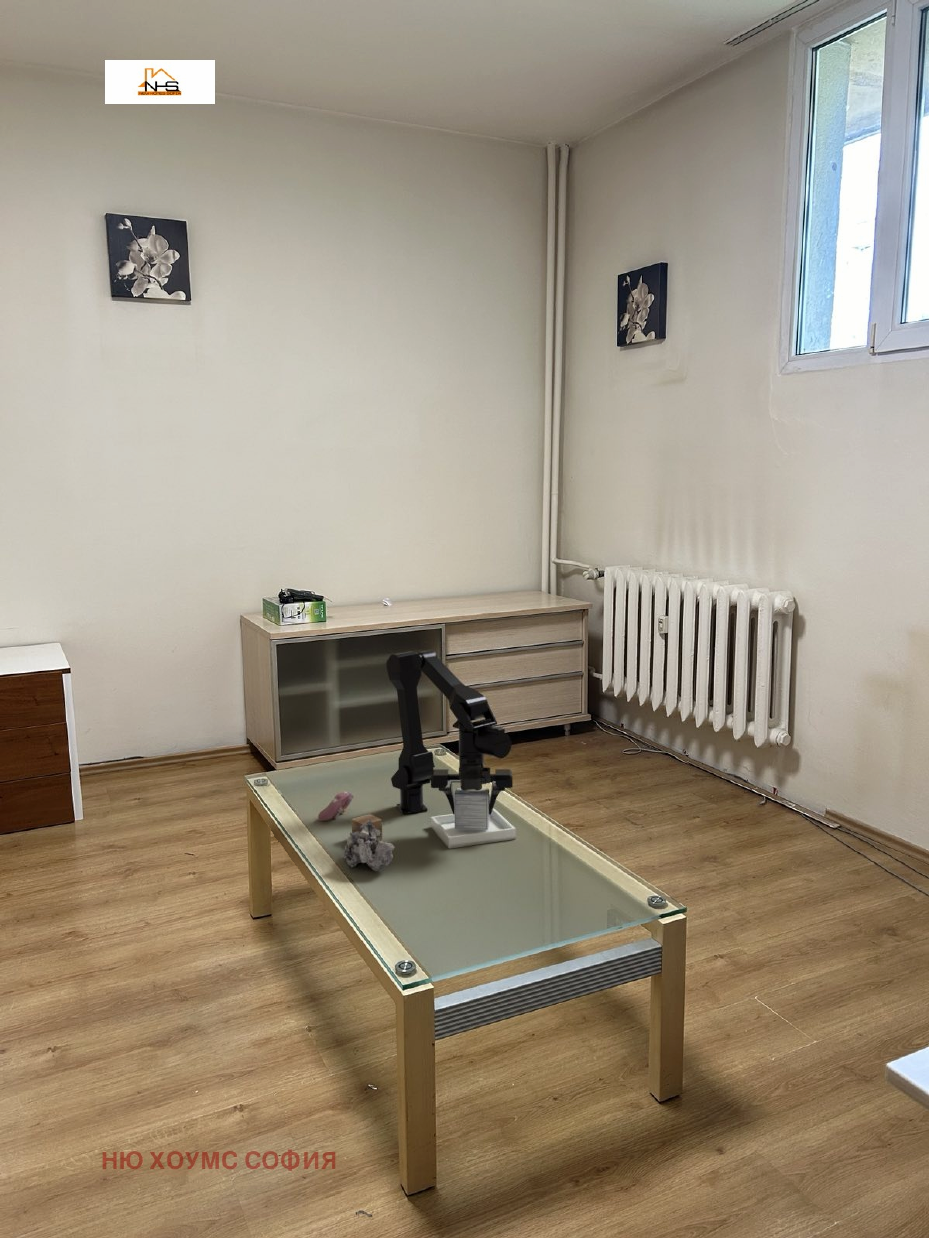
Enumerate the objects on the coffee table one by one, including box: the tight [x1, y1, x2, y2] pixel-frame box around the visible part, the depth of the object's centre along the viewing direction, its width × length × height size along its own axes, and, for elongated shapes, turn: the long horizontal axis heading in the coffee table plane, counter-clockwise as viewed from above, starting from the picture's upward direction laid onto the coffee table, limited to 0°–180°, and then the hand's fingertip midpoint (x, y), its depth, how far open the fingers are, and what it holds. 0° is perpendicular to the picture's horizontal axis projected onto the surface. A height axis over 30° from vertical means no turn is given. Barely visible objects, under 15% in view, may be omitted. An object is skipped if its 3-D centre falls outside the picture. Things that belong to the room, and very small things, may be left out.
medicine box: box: [454, 787, 490, 830], centre depth 214 cm, size 8×4×9 cm, turn 84°
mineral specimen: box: [343, 820, 396, 873], centre depth 197 cm, size 13×10×11 cm
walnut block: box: [351, 813, 383, 842], centre depth 211 cm, size 5×5×5 cm
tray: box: [430, 808, 517, 849], centre depth 215 cm, size 14×16×2 cm
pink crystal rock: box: [318, 790, 354, 822], centre depth 227 cm, size 10×5×7 cm, turn 162°
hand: (472, 814), depth 214 cm, fingers closed on medicine box, 8 cm apart
